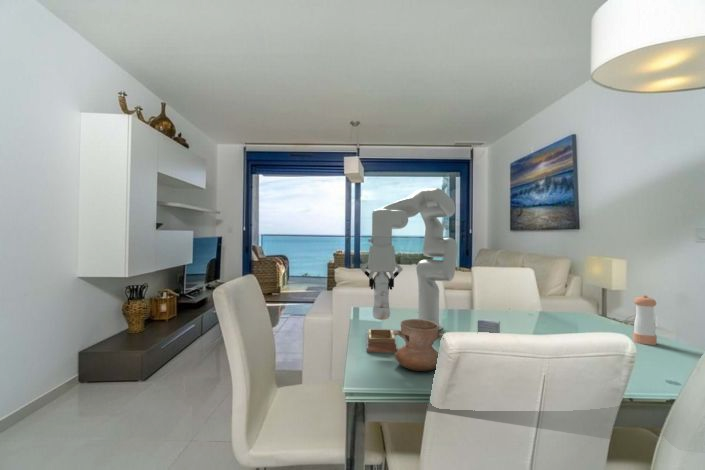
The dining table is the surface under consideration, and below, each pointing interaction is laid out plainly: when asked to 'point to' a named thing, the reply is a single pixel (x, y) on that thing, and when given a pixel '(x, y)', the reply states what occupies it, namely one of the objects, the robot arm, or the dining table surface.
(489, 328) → the medicine box
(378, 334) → the box
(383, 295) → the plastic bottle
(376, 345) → the wooden tray
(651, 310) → the pepper shaker
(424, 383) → the dining table surface
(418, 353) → the ceramic jug
